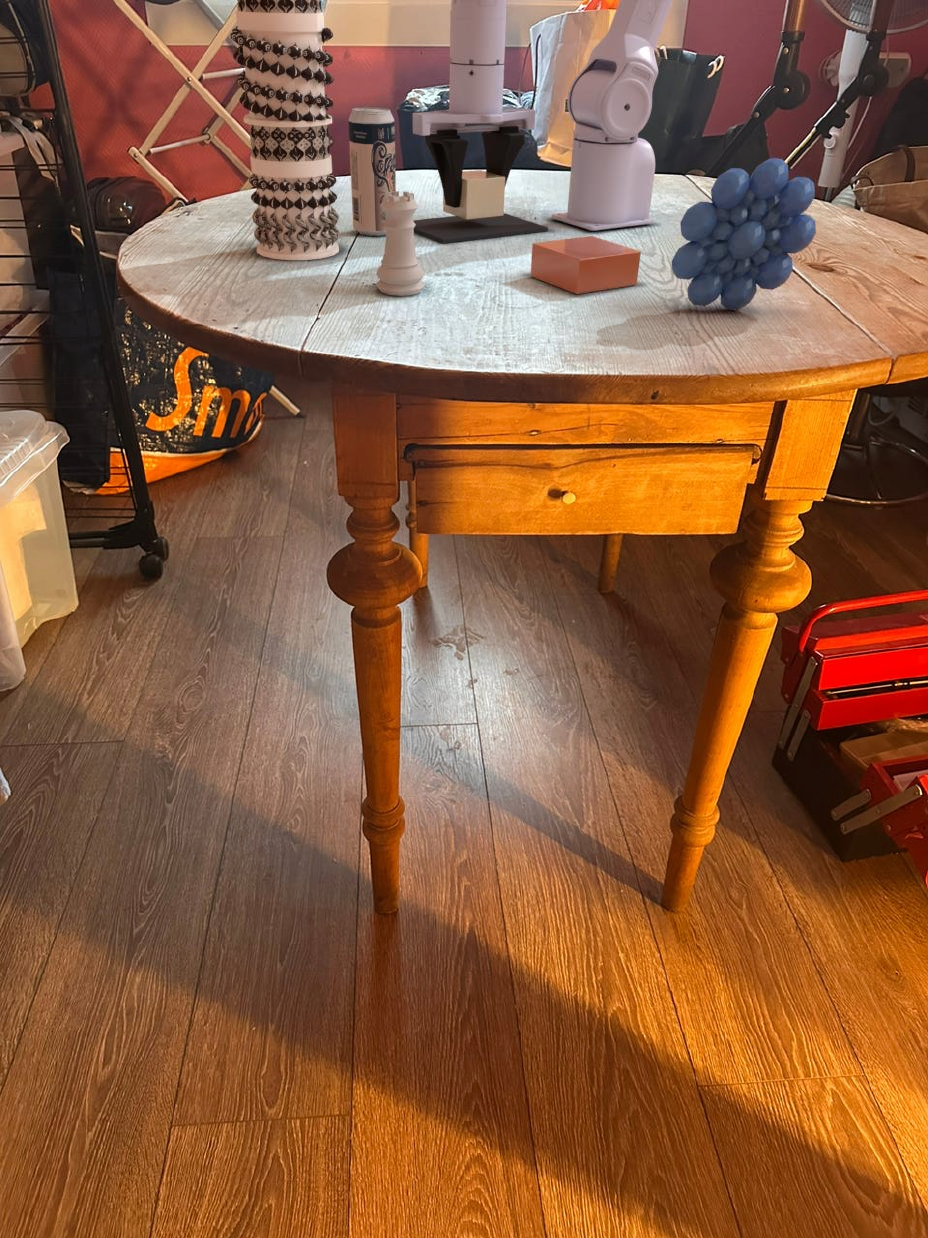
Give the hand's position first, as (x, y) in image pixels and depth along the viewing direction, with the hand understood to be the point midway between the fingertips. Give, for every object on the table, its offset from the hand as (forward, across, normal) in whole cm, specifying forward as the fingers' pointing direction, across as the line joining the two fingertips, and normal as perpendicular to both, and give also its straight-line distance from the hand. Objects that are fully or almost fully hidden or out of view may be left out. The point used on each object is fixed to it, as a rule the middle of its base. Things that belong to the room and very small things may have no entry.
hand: (473, 203), depth 104 cm
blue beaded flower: (+3, +3, -37) cm, 37 cm away
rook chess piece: (+3, -20, -19) cm, 28 cm away
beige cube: (+1, 0, 0) cm, 1 cm away
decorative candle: (+3, -22, -1) cm, 22 cm away
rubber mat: (+3, 0, 0) cm, 3 cm away
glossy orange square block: (+3, -3, -24) cm, 24 cm away
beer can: (+3, -11, +3) cm, 12 cm away
